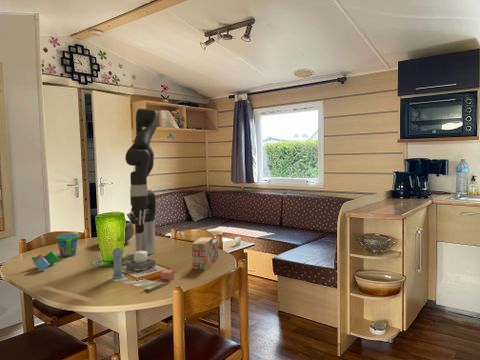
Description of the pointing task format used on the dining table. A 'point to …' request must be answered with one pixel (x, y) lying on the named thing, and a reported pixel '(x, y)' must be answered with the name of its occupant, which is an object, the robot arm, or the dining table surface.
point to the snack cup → (67, 244)
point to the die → (167, 275)
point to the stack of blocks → (204, 252)
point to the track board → (140, 283)
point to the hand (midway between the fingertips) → (140, 232)
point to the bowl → (129, 231)
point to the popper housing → (140, 266)
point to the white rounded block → (140, 257)
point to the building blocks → (45, 260)
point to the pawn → (117, 263)
